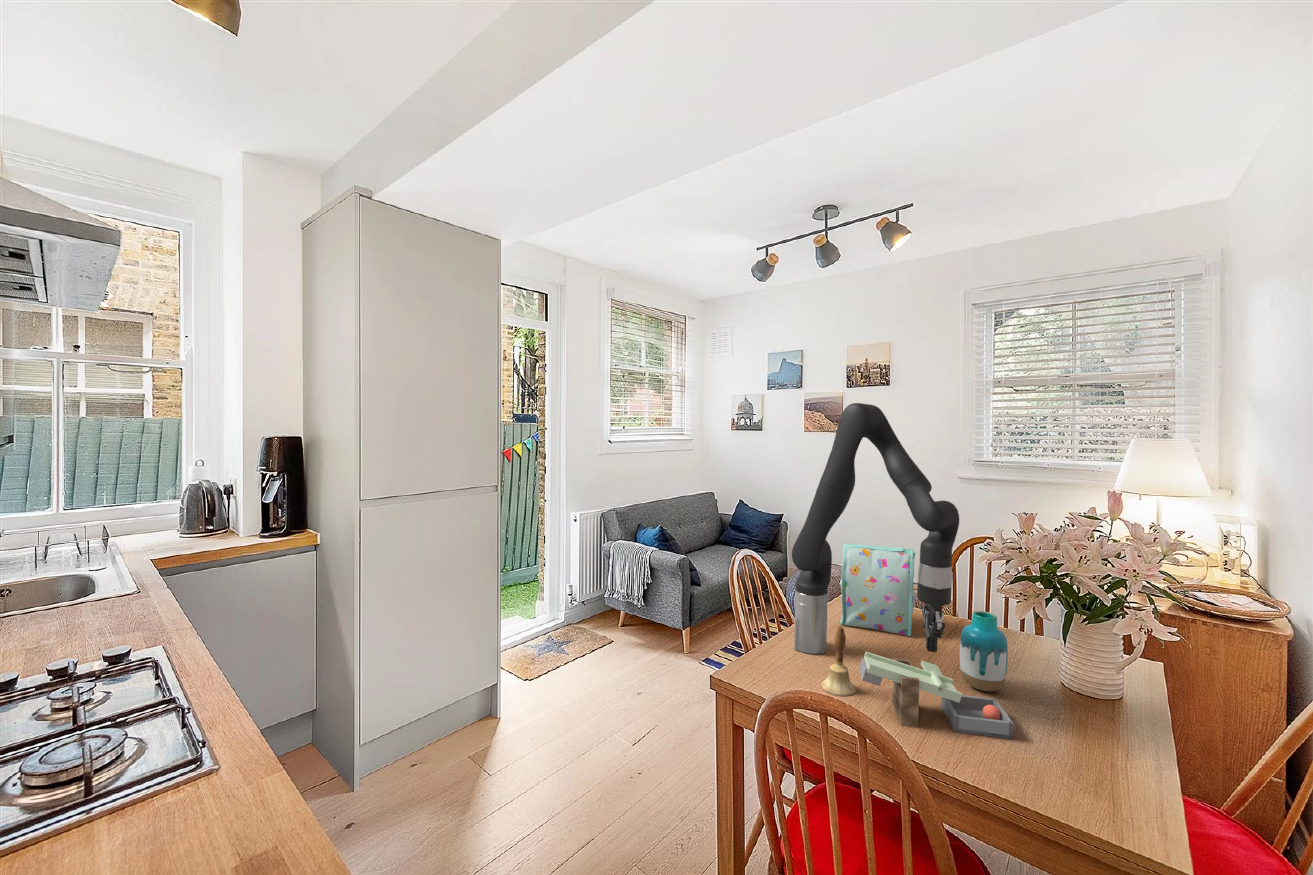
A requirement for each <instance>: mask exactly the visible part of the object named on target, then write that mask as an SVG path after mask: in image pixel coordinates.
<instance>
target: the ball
mask: <svg viewBox="0 0 1313 875" xmlns="http://www.w3.org/2000/svg"><path fill="white" fill-rule="evenodd" d="M983 715H984V717H985V718H986V719H993V720H999V719H1000V717H1001V714H1000V711H999V710H998V708H996V707H995V706H993V705H986V706H985V707H984V708H983Z"/></svg>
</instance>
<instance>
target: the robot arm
mask: <svg viewBox="0 0 1313 875" xmlns="http://www.w3.org/2000/svg"><path fill="white" fill-rule="evenodd" d="M839 417H840V418H839V420H838V423H837V427H836V432H835V436H834V440H833V444H832V448H831V450H830V453H829V455H828V459H827V462H826V464H825V468H824V470H823V473H822V474H821V475H822V476H821V478H820V480H819V483H818V485H817V488H816V491H815V494H814V497H813V499H812V503H811V505H810V508H809V510H808V513H807V516H806V519H805V522H804V524H803V526H802V529H801V530H800V532H799V534H798V536H797V538H796V540H795V542H794V544H793V547H792V550H791V560H792V563H793V564H794V566H795V567H796V568H797V570H799V571H800V574H799V576H798V577H797V579H796V580H795V598H794V599H795V602H794V603H795V604H794V606H795V608H794V609H795V610H794V633H793V634H794V641H793V642H794V643H793V644H794V650H795V651H799V652H802V653H805V654H809V655H819V654H823V653H825V652H826V651H827V643H828V642H827V639H828V638H827V636H828V634H827V633H828V598H829V597H828V595H829V594H828V593H829V592H828V590H829V589H828V588H829V585H830V582H831V577H832V562H833V551H832V549H831V546H830V543H829V542H828V540H827V537H828V534H829V532H830V531H831V529H832V527H834V525H835V523H836V522H838V520H839V518H840V517H841V515H842V514H843V512H844V511H845V510H846V507H847V505H848V504H849V501H850V499H851V497H852V494H853V491H854V490H855V485H856V468H855V460H856V459H855V458H856V455H857V452H858V449H859V446H860V444H861V441H863V438H866V439H867V440H868V441H870V442H871V444H873V445H874V446H875V448H876V449H877V451H878V452H879V453H880V455H881V457H882V459H883V463H884V466H885V468H886V471H887V474H888V475H889V477H890V480H891V481H892V483H893V484H894V486H896V487H897V489H898V490H899V492H900V493H901V494H902V496H904V499H905V500H906V503H907V506H908V508H909V510H910V512H911V515H912V517H913V519H914V521H915V523H916V524H918V525H919V526H920V527H921V528H922V529H923V530H925V531H927V532H928V535H927V536H926V537H925V538H924V539H923V540H922V541H921V543H920V547H919V564H918V569H917V587H916V588H917V591H916V598H917V599H918V600H919V602H922V603H924V604H922V605H921V613H922V620H923V621H922V622H923V629H924V633H925V635H926V637H925V639H926V640H925V648H926V651H927V652H930V653H937V651H938V640H939V639H942V636H943V633H944V631H945V629H946V623H945V622H943V619H944V617H945V613H944V610H943V608H942V607H944V606H949V605H950V604H951V602H952V589H953V588H952V583H953V571H952V570H953V569H952V564H953V562H952V561H953V547H954V543H955V541H956V539H957V538H956V537H957V534H958V531H959V526H960V515H959V510H958V509H957V507H956V504H954V503H952V502H951V501H948V500H936V501H935V500H934V499H933V497H932V495H931V494H930V492H931V491H932V489H933V488H932V483H931V482H930V481H929V479H928V478H927V477H926V475H925V474H924V473H923V471H922V470H921V469H920V468H919V466H918V465H917V464H916V463H915V462H914V460H913V459H912V457H911V456H910V455H909V453H908V452H907V451H906V449H905V448H904V446H903V444H902V443H901V441H900V440H899V438H898V436H897V435H896V433H895V432H894V430H893V428H892V426H891V424H890V422H889V420H888V418H887V416H886V415H885V413H884V412H883V411H882V409H881V408H880V407H878V406H876V405H874V404H869V403H860V402H853V403H851V404H849V405H847V406H846V407H845V408H844V409H843V411H842V412H841V414H840V416H839Z"/></svg>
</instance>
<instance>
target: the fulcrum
mask: <svg viewBox="0 0 1313 875" xmlns="http://www.w3.org/2000/svg"><path fill="white" fill-rule="evenodd" d="M892 660H894V661H897V662H901V663H904V664H907V665H910V666H911V660H910V659H903V658H902V659H901V658H893V659H892ZM891 701H892V704H893V708H894V710H895V713H896V715H897V718H898V721H899V724H900V725H901V726H905V727H914V728H919V712H920V711H919V709H920V708H919V707H920V706H919V704H920V690H919V678H914V677H904V676H901V683H898V682H894V681H892V698H891Z"/></svg>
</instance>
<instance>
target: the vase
mask: <svg viewBox="0 0 1313 875" xmlns="http://www.w3.org/2000/svg"><path fill="white" fill-rule="evenodd" d="M998 627H999V626H998V617H997V615H996V614H994V613H992V612H989V611H984V610H975V611H973V612H972V616H971V622H970V623H969V624H967V625H965V626H964V627H963V628H962V631H961V635H960V640H959V671H960V675H961V677H962V679H963V681H964V682H966V684H967V685H969V686H970V687H972V688H974V689H976V690H979V691H984V692H996V691H998V690H1000V689H1002V688H1003V687H1004V686H1005V683H1006V679H1007V673H1008V666H1009V665H1008V663H1009V662H1008V661H1009V660H1008V658H1009V652H1008V651H1009V650H1008V639H1007V636H1006V635H1005V633H1004V632H1003V631H1002V630H1000V629H999V628H998Z"/></svg>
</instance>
